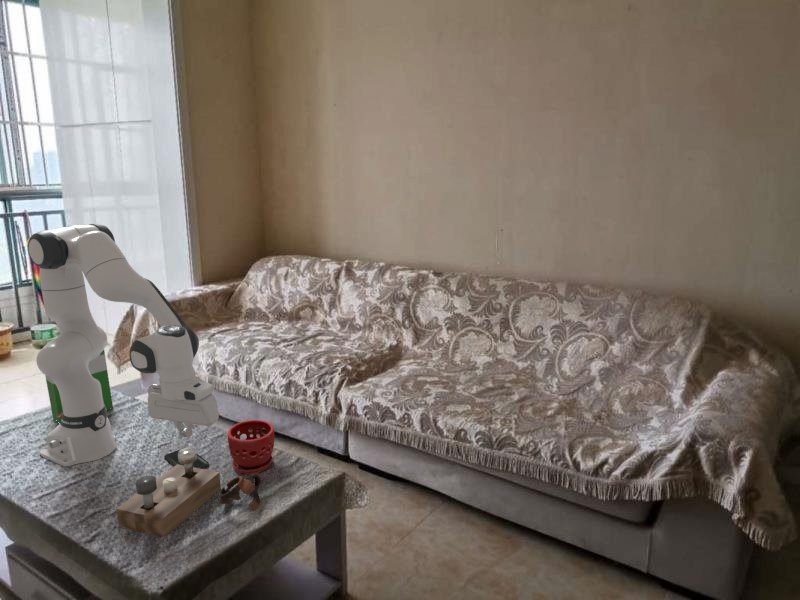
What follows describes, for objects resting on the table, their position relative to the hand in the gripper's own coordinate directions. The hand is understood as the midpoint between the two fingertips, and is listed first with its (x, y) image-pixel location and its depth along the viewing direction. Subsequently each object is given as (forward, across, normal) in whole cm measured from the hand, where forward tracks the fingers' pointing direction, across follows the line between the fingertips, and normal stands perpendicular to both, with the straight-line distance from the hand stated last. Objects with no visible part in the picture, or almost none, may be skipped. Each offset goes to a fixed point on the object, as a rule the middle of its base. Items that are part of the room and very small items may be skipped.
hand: (185, 435), depth 153 cm
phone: (+17, -13, +12) cm, 25 cm away
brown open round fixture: (+17, +16, 0) cm, 24 cm away
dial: (+12, 0, -8) cm, 14 cm away
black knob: (+11, -1, -15) cm, 19 cm away
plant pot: (+17, +8, +16) cm, 25 cm away
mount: (+16, -1, -8) cm, 18 cm away
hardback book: (+16, -72, +30) cm, 79 cm away
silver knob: (+12, -1, 0) cm, 12 cm away
